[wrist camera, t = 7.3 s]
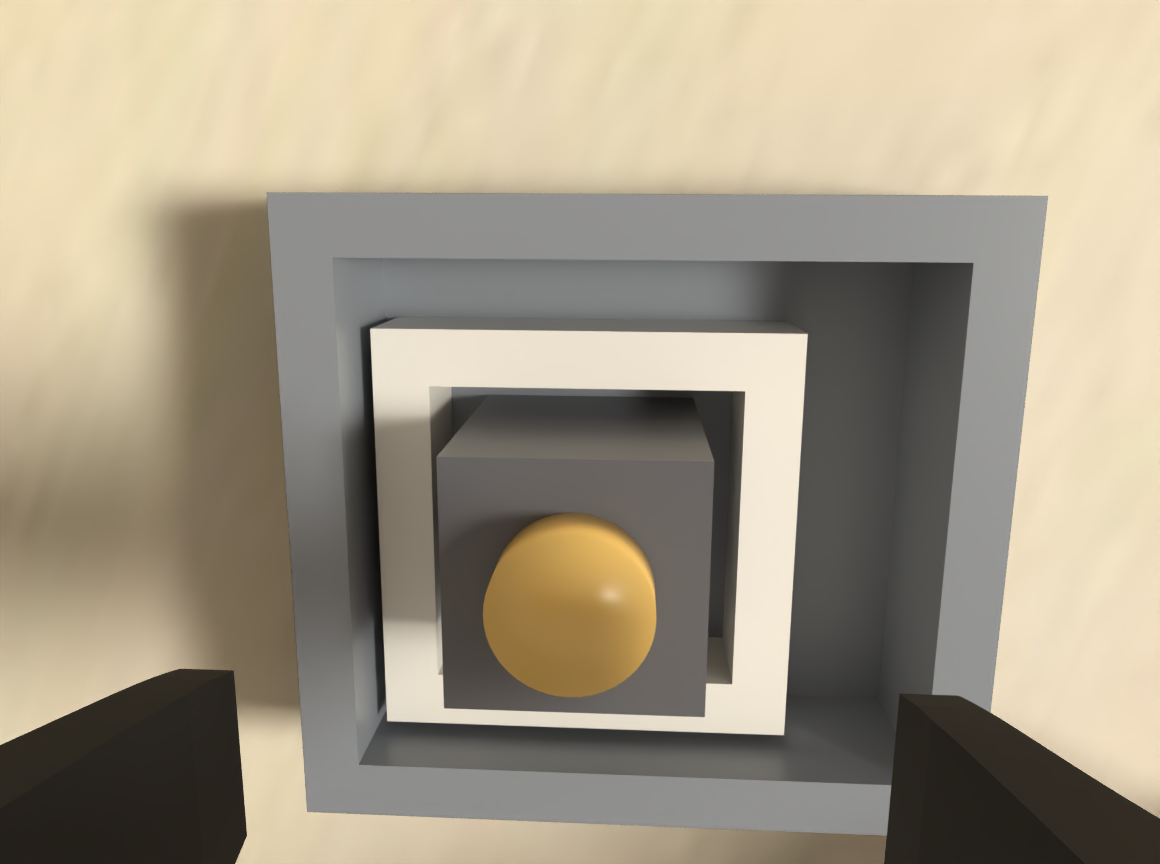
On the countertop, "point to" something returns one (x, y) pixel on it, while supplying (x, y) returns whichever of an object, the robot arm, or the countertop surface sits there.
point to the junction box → (740, 494)
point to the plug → (576, 556)
